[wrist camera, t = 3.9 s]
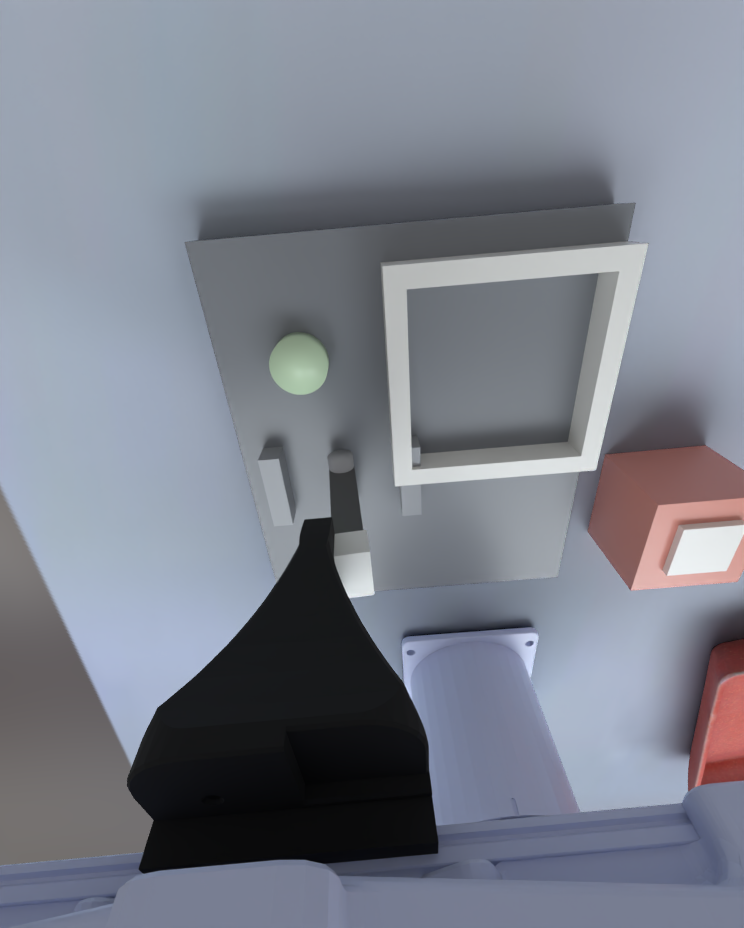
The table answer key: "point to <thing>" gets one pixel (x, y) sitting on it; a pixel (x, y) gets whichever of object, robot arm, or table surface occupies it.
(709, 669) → the plant saucer
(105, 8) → the table surface
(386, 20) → the table surface
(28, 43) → the table surface
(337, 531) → the lever
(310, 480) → the panel
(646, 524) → the pink cube
